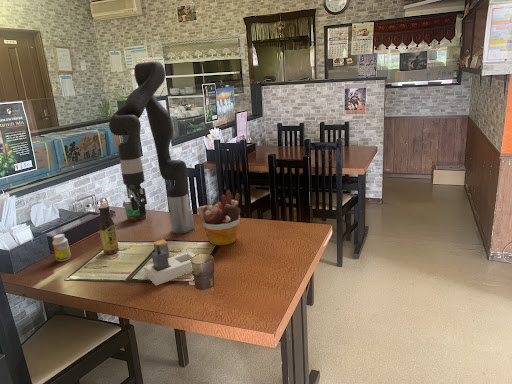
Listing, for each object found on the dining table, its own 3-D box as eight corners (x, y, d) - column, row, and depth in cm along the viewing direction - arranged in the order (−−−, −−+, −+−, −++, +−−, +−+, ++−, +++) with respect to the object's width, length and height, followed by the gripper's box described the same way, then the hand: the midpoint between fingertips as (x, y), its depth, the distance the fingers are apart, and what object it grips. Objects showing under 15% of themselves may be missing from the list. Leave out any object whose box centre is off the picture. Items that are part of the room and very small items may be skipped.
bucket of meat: (229, 252, 155) (224, 204, 150) (194, 247, 162) (189, 201, 157) (251, 233, 173) (247, 190, 167) (218, 230, 180) (214, 188, 174)
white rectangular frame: (190, 260, 150) (186, 231, 147) (202, 268, 143) (198, 237, 140) (145, 276, 140) (140, 245, 137) (156, 285, 133) (150, 253, 130)
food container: (120, 222, 200) (117, 204, 197) (126, 218, 206) (123, 200, 203) (143, 222, 198) (140, 203, 195) (148, 218, 203) (145, 199, 201)
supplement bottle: (56, 258, 162) (51, 235, 159) (71, 254, 164) (66, 232, 162) (56, 263, 157) (50, 239, 154) (71, 259, 159) (66, 236, 157)
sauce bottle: (114, 255, 160) (105, 209, 155) (100, 255, 162) (91, 209, 156) (122, 248, 167) (114, 204, 161) (109, 248, 168) (100, 204, 163)
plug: (165, 258, 154) (162, 239, 152) (170, 261, 151) (167, 242, 149) (156, 261, 152) (153, 242, 150) (160, 264, 149) (157, 245, 147)
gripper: (149, 171, 139) (155, 214, 144) (135, 166, 151) (142, 206, 155) (128, 175, 135) (135, 219, 140) (116, 169, 147) (123, 210, 151)
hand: (139, 212), depth 147 cm, fingers open, 8 cm apart
